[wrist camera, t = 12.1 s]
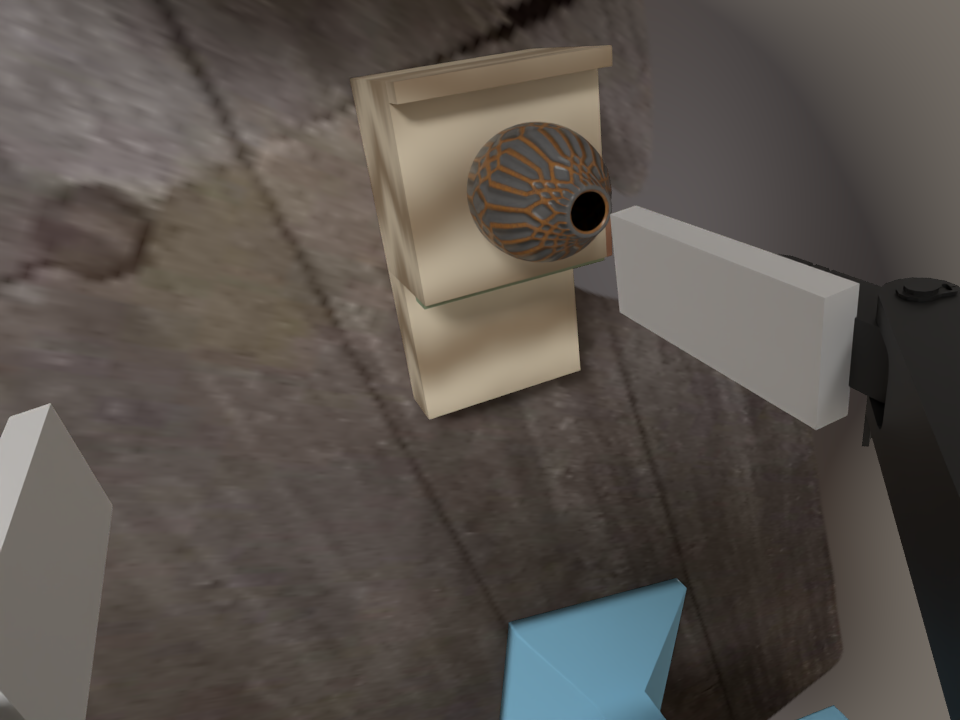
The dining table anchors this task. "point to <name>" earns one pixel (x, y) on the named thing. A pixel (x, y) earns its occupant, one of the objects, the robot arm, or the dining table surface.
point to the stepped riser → (452, 231)
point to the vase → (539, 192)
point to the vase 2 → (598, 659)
